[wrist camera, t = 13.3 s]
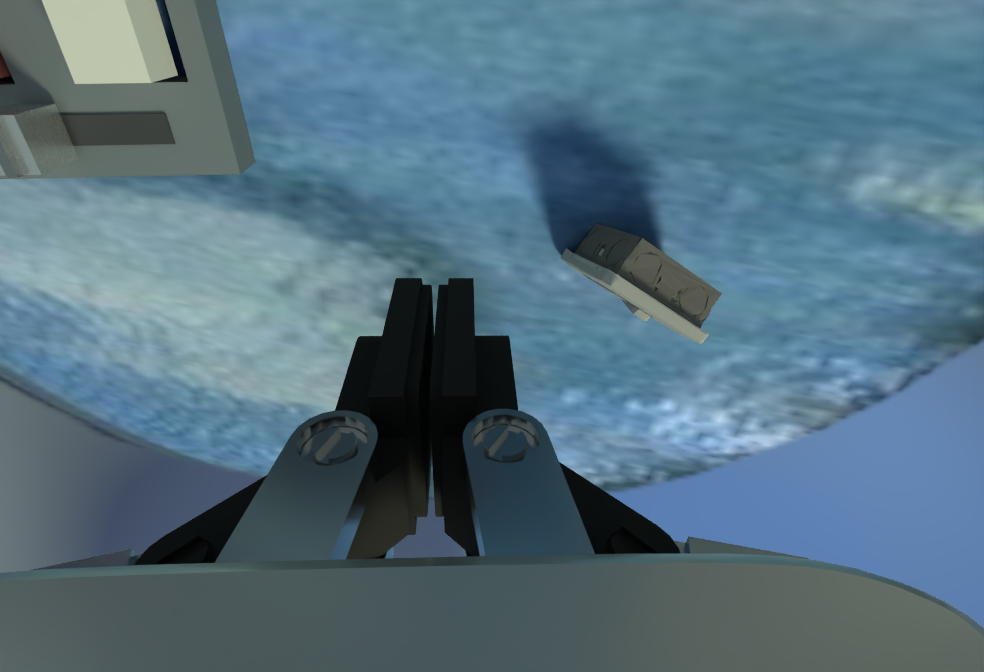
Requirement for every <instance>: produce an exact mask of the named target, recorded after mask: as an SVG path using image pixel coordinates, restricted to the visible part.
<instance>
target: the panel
mask: <svg viewBox="0 0 984 672" xmlns="http://www.w3.org/2000/svg"><path fill="white" fill-rule="evenodd" d="M165 3H166V6H167V10H168V13H169V17H170V20H171V23H172V27H173V30H174V34H175V37H176V41H177V44H178V48H179V51H180V54H181V58H182V61H183V65H184V68H185V72H186V75H187V76H174V77H170V78H167V79H163V80H160V81H156V82H153V83H110V84H75V83H74V80H73V78H72V75H71V73H70V70H69V68H68V65H67V63H66V60H65V58H64V55H63V53H62V50H61V48H60V45H59V43H58V40H57V38H56V35H55V33H54V30H53V28H52V25H51V23H50V20H49V18H48V15H47V12H46V10H45V7H44V5H43V2H42V0H0V51H1V53H2V56H3V58H4V60H5V62H6V65H7V67H8V69H9V71H10V73H11V76H12V78H0V107H3V106H7V105H11V104H56V107H57V109H58V111H59V114H60V116H61V118H62V121H63V123H64V125H65V128H66V130H67V132H68V135H69V137H70V140H71V142H72V144H73V147H74V149H75V151H76V154H77V156H78V158H79V159H77V160H75V161H72V162H70V163H68V164H65V165H63V166H61V167H58V168H56V169H54V170H51V171H49V172H47V173H44V174H42V175H23V176H21V177H19V178H7V177H6V175H5V176H0V179H27V178H76V177H126V176H175V175H225V174H241V173H242V172H244V171H245V170H246V169H247V168H248V167H250V166H251V165H252V164H253V163H255V159H254V155H253V151H252V147H251V143H250V139H249V135H248V131H247V126H246V122H245V118H244V114H243V110H242V106H241V102H240V98H239V94H238V90H237V86H236V82H235V78H234V74H233V70H232V66H231V61H230V57H229V53H228V49H227V45H226V41H225V37H224V33H223V29H222V25H221V21H220V17H219V13H218V9H217V5H216V1H215V0H165Z"/></svg>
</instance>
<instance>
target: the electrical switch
mask: <svg viewBox="0 0 984 672" xmlns="http://www.w3.org/2000/svg"><path fill="white" fill-rule="evenodd" d="M639 239H640V237H639V236H636V235H632V234H629V233H626V232H623V231H620V230H617V229H613V228H610V227H607V226H604V225H601V224H598V223H595V225H594V226H593V228H592V229H591V231H590V232H589V234H588V235H587V237H586V238H585V239H584V240H583V241H582V242H581V244H580V246H579V247H578V248H577V250H576V251H575V252H574V253H573V252H571V251H569V250H568V249H567V248H566V249H565V251H564V253H563V255H562V256H561V259H562V260H564V261H565V262H566V263H567V264H568V265H570V266H571V267H573V268H574V269H576V270H577V271H579V272H580V273H582V274H583V275H585V276H586V277H588V278H589V279H591V280H593V281H594V282H596V283H597V284H598V285H600V286H601V287H603V288H605V289H606V290H608V291H609V292H611V293H612V294H614V295H616V296H618V297H619V298H621V299H622V301H623V302H624V303H625V305H626V306H627V307H628V309H629V310H630V311H631V312H632V313H633V314H635V315H636V316H638V317H639V318H641V319H642V320H644V321H647V320H648V319H649V318H650V317H652V318H653V319H655V320H657V321H658V322H660V323H662V324H663V325H665V326H667V327H669V328H670V329H672V330H674V331H675V332H677V333H679V334H681V335H682V336H684V337H686V338H689V339H691V340H693V341H695V342H697V343H700V344H702V343H703V341H704V340H705V339H706V337H707V336H708V335H709V334H707V333H706V332H704V331H703V330H701V329H700V328H701V326H702V323H703V322H704V320H705V319H706V318H707V317H708V315H709V313H710V310H711V308H712V306H713V305H714V304H715V302H716V301H717V300H718V298H719V297H720V295H721V294H722V293H720V292H719V291H717V290H716V289H714V288H713V287H712V286H710V285H709V284H707V283H706V282H704V281H703V280H702V279H700V278H699V277H697V276H696V275H694V274H693V273H692V272H690V271H689V270H687V269H686V268H684V267H683V266H682V265H680V264H679V263H677V262H676V261H674V260H673V259H672V258H670V257H669V256H667V255H666V254H665V253H663V252H662V251H660V250H659V249H657V248H656V247H655V246H653V245H652V244H650V243H649V242H647V241H646V240H645V239H643V238H641V239H640V241H639ZM638 241H639V242H638ZM637 242H638V244H637ZM636 244H637V245H636ZM635 246H636V247H635ZM634 247H635V248H634ZM633 249H634V250H633Z"/></svg>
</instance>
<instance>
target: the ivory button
mask: <svg viewBox="0 0 984 672" xmlns="http://www.w3.org/2000/svg"><path fill="white" fill-rule="evenodd" d="M42 2H43V5H44V7H45V10H46V12H47V15H48V18H49V20H50V23H51V25H52V28H53V30H54V33H55V35H56V38H57V40H58V43H59V45H60V48H61V50H62V53H63V55H64V58H65V60H66V63H67V65H68V68H69V70H70V73H71V75H72V78H73V80H74V83H75V84H110V83H153V82H156V81H160V80H163V79H167V78H170V77H174V76H177V75H178V74H177V70H176V67H175V64H174V60H173V57H172V54H171V50H170V47H169V43H168V40H167V37H166V33H165V30H164V27H163V23H162V20H161V17H160V13H159V10H158V7H157V3H156V0H42Z"/></svg>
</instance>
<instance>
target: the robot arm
mask: <svg viewBox="0 0 984 672" xmlns="http://www.w3.org/2000/svg"><path fill="white" fill-rule="evenodd" d="M431 460H432V463H433V480H434V498H435V514H436V517H441V516H444V522H445V533H446V534H447V535H448V536H450V537H451V538H452V539H453V540H454V541H455V542H457V543H458V544H459V545H460V546H461V547H462V548H464V557H429V558H393V553H394V552H393V546H395V545H396V544H397V543H398V542H399V541H401V540H402V539H403V538H404V537H406V536H407V535H415V533H416V523H417V517H427V513H428V501H429V487H430V473H431ZM0 672H984V628H983V627H982V626H981V625H979V624H978V623H977V622H975V621H974V620H973V619H972V618H970V617H969V616H968V615H966V614H965V613H963V612H961V611H960V610H958V609H956V608H955V607H953V606H952V605H950V604H948V603H947V602H945V601H943V600H941V599H938V598H936V597H934V596H932V595H930V594H928V593H926V592H923V591H921V590H919V589H916V588H914V587H911V586H909V585H906V584H904V583H901V582H898V581H895V580H892V579H888V578H885V577H881V576H878V575H875V574H872V573H868V572H866V571H862V570H859V569H856V568H851V567H846V566H841V565H836V564H832V563H827V562H822V561H817V560H811V559H808V558H803V557H798V556H792V555H787V554H782V553H776V552H771V551H765V550H760V549H754V548H748V547H743V546H738V545H732V544H727V543H721V542H716V541H710V540H705V539H699V538H694V537H688V539H687V541H686V543H683V542H678V541H673V540H672V538H671V537H670V536H669V535H668V534H667V533H666V532H664V531H663V530H662V529H661V528H660V527H658V526H657V525H656V524H654V523H652V522H651V521H649V520H648V519H646V518H645V517H643V516H642V515H640V514H639V513H637V512H636V511H634V510H633V509H631V508H629V507H628V506H626V505H625V504H623V503H622V502H620V501H619V500H617V499H615V498H614V497H612V496H611V495H609V494H608V493H606V492H605V491H603V490H602V489H600V488H599V487H597V486H595V485H594V484H592V483H591V482H589V481H588V480H586V479H585V478H583V477H582V476H580V475H578V474H577V473H575V472H574V471H572V470H571V469H569V468H568V467H566V466H565V465H563V464H561V463H560V462H559V461H558V459H557V456H556V453H555V451H554V448H553V446H552V443H551V441H550V438H549V436H548V433H547V431H546V430H545V428H544V426H543V425H542V423H540V422H539V421H538V420H537V419H535V418H534V417H533V416H531V415H529V414H527V413H524V412H522V411H518V405H517V397H516V389H515V380H514V372H513V364H512V356H511V348H510V340H509V336H475V326H474V285H473V278H449V282H448V285H439V290H438V301H437V312H436V323H435V334H434V323H433V302H432V286H431V285H423V284H422V278H396V280H395V284H394V289H393V293H392V297H391V301H390V305H389V310H388V314H387V318H386V322H385V326H384V330H383V335H382V336H360V337H358V339H357V341H356V344H355V348H354V351H353V354H352V357H351V361H350V364H349V367H348V370H347V374H346V377H345V380H344V383H343V387H342V390H341V393H340V396H339V400H338V403H337V406H336V409H335V411H331V412H326V413H322V414H319V415H317V416H315V417H312V418H310V419H308V420H307V421H306V422H304V423H303V424H301V425H300V426H299V427H298V428H297V429H296V430H295V431H294V433H293V434H292V435H291V436H290V438H289V440H288V441H287V443H286V445H285V446H284V448H283V450H282V451H281V453H280V455H279V456H278V458H277V460H276V461H275V463H274V465H273V466H272V468H271V470H270V471H269V473H268V475H266V476H265V477H263V478H261V479H260V480H258V481H256V482H255V483H253V484H252V485H250V486H248V487H246V488H244V489H243V490H241V491H239V492H238V493H236V494H234V495H233V496H231V497H229V498H228V499H226V500H224V501H223V502H221V503H219V504H217V505H216V506H214V507H213V508H211V509H209V510H207V511H206V512H204V513H202V514H201V515H199V516H197V517H196V518H194V519H192V520H190V521H189V522H187V523H185V524H184V525H182V526H180V527H179V528H177V529H176V530H174V531H172V532H171V533H169V534H167V535H165V536H164V537H162V538H161V539H159V540H158V541H157V542H155V543H154V544H153V545H151V546H150V547H149V548H148V549H147V550H146V551H145V552H144V553H143V554H141V555H136V554H135V552H134V551H133V549H128V550H123V551H119V552H114V553H110V554H104V555H100V556H95V557H90V558H86V559H81V560H76V561H71V562H66V563H62V564H57V565H52V566H48V567H42V568H38V569H33V570H28V571H16V572H5V573H0Z"/></svg>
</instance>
